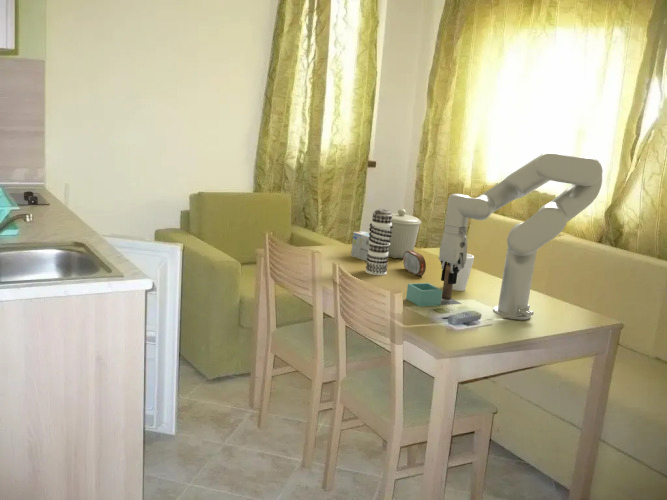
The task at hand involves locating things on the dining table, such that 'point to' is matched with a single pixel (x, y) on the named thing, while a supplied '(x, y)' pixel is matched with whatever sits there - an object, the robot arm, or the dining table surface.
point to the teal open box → (424, 294)
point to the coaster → (449, 302)
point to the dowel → (447, 287)
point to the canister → (403, 234)
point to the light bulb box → (360, 245)
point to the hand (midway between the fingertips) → (448, 281)
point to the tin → (414, 262)
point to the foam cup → (463, 274)
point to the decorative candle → (379, 242)
